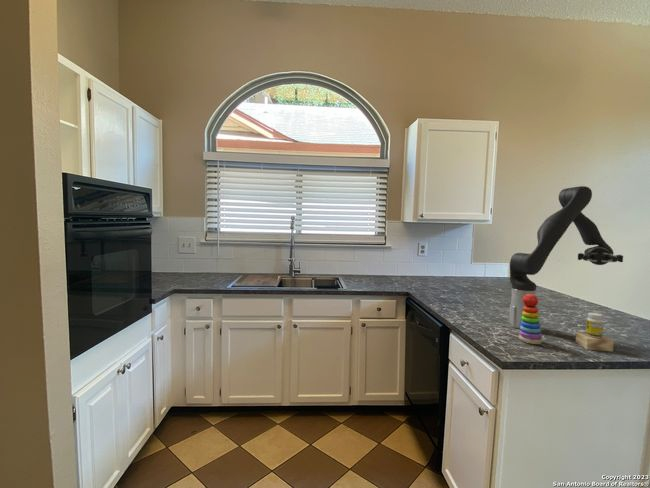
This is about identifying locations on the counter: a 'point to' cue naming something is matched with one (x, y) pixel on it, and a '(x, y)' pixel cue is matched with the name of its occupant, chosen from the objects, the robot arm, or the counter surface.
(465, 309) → the counter surface
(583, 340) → the oak block
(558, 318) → the counter surface
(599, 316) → the supplement bottle
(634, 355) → the counter surface
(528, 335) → the stacking toy
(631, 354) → the counter surface
